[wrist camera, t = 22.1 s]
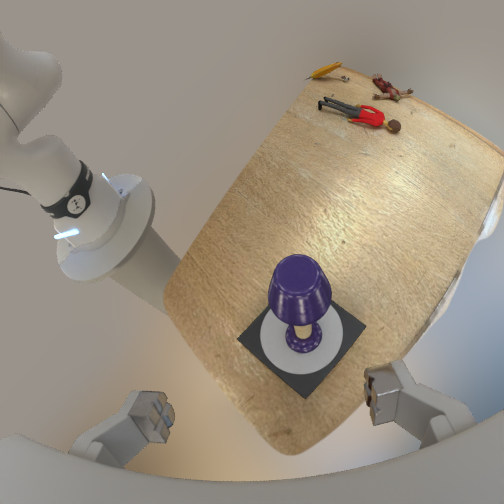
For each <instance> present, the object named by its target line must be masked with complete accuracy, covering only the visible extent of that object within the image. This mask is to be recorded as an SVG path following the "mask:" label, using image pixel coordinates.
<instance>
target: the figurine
mask: <svg viewBox="0 0 504 504" xmlns="http://www.w3.org/2000/svg"><path fill="white" fill-rule="evenodd" d="M377 75H378V79H377V78H376V74H374V75H373V76H372V77H373V82H374V83H375V84H377V85H378V86H380V88H381V89H382V92H385V93H384V94H383V95H382V94H381V95H377V94H374V95H375V96H372V98H373V99H380V98H387V97H388V98H390V99H395V100H398V101H399V100H400V96H401V95H404V94H411V93H413V90H410V89H411V88H410V89H408V91H398V90H396V89H394V88H393V87H392V85H391V83H389V82H386V81H384V80H383V79H382V78H381V74H377Z"/></svg>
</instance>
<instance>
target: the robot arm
mask: <svg viewBox="0 0 504 504" xmlns="http://www.w3.org/2000/svg"><path fill="white" fill-rule="evenodd" d="M61 82H62V70H61V66H60V64H59V63H58V60H57V59H56V58H55V57H54V56H53V55H51V54H50V53H47V52H43V51H33V52H29V51H22V50H19V49H16V48H14V47H13V46H11V45H10V44H9V43H8V42H7V41H6V40H5V39H4V37H3V36H2V34H1V32H0V179H6V180H9V181H12V182H14V183H16V184H18V185H19V186H21V187H22V188H23V189H24V190H26V191H22V190H17V189H10V188H3V187H0V189H4V190H9V191H15V192H20V193H25V194H28V195H31V196H33V197H34V198H35V199H36V200H37V201H38V202H39V203H40V204H41V207H42V208H43V209H44V211H45V212H46V213H47V214H48V215H50V216H51V217H52V218H54V228H55V230H57V232H58V233H59V235H55V236H54V237H55V238H56V239H59V238H62V237H64V238H65V239H66V240H67V244H68V249H69V251H70V252H71V253H72V254H75V253H77V252H79V251H92V250H95V249H98V248H100V247H101V246H103V245H104V244H105V243H107V242H108V241H109V240H110V239H111V238H112V237H113V235H114V234H115V233H116V232H117V230H118V228H119V227H120V225H121V223H122V221H123V218H124V214H125V206H126V203H127V200H128V198H129V196H130V192H129V191H128V190H126V189H124V188H122V187H120V186H118V185H115V184H113V183H111V182H109V181H108V179H107V178H106V177H105V175H104V174H103V173H102V175H103V176H100V175H98V174H93V173H92V172H91V171H90V170H89V168H88V167H87V166H86V165H85V164H84V163H83V162H82V161H80V160H78V159H77V158H76V157H75V155H74V154H73V153H72V152H71V150H70V149H69V148H68V147H67V145H66V144H65V143H64V142H63V140H62V139H61V138H59V137H58V136H55V135H46V136H43V137H40V138H38V139H35V140H33V141H32V142H29V143H27V144H20V143H19V142H18V141H17V137H18V135H19V134H20V132H21V131H22V130H23V129H24V128H25V127H26V126H27V125H28V124H29V123H30V121H31V120H32V119H33V118H34V117H35V116H36V115H37V114H38V113H39V112H40V111H41V110H42V109H43V108H44V107H45V106H46V104H47V103H48V102H49V101H50V99H51V98H52V97H53V95H54V94H55V93H56V91H57V90H58V89H59V88H60V86H61ZM364 377H365V380H366V382H365V384H364V395H365V400H366V404H367V406H368V407H370V416H371V419H372V422H373V425H374V426H376V425H380V424H384V423H388V422H391V421H394V422H395V423H397V424H398V425H400V426H401V427H402V428H404V429H405V430H406V431H408V432H409V433H410V434H412V435H413V436H415V437H416V438H417V439H419V440H420V441H422V443H421V446H420V448H419V450H417V451H414V452H412V453H409V454H406V455H403V456H399V457H396V458H393V459H390V460H386V461H383V462H380V463H376V464H372V465H368V466H364V467H360V468H356V469H351V470H346V471H341V472H336V473H330V474H324V475H318V476H311V477H305V478H295V479H285V480H271V481H247V482H246V481H244V482H232V481H204V480H191V479H181V478H172V477H164V476H158V475H151V474H145V473H140V472H135V471H130V470H126V469H125V468H124V467H123V466H124V465H125V464H126V463H128V462H129V461H130V460H131V459H132V458H133V457H134V456H136V455H137V454H138V453H139V452H140V451H141V450H142V449H143V448H144V447H145V446H147V445H148V444H149V442H154V443H166V442H167V439H168V437H169V434H170V431H169V429H168V428H169V427H171V426H172V425H173V423H174V420H175V413H174V409H173V407H172V405H170V404H169V403H168V402H166V401H167V396H166V395H165V393H164V392H155V391H131V392H130V394H129V395H128V397H127V399H126V401H125V402H124V404H123V406H122V407H121V409H120V411H119V413H118V414H114V415H112V416H111V417H109V418H108V419H106V420H104V421H103V422H101V423H99V424H98V425H96V426H95V427H93V428H91V429H90V430H88V431H87V432H85V433H83V434H81V435H80V436H78V438H77V439H76V441H75V442H74V444H73V446H72V447H71V449H70V450H69V452H68V453H65V452H62V451H59V450H57V449H54V448H52V447H49V446H46V445H44V444H42V443H39V442H37V441H35V440H32V439H30V438H28V437H26V436H24V435H22V434H13V435H10V436H7V437H5V438H3V439H1V440H0V504H504V409H503V410H502V411H500V412H498V413H497V414H495V415H493V416H492V417H490V418H488V419H486V420H484V421H482V422H480V423H479V424H477V422H476V421H475V419H474V417H473V416H472V414H471V412H470V411H469V409H468V408H467V406H466V404H465V403H463V402H460V401H458V400H456V399H454V398H451V397H449V396H447V395H444V394H442V393H440V392H438V391H435V390H433V389H431V388H429V387H427V386H425V385H422V384H416V382H415V381H414V379H413V377H412V376H411V374H410V372H409V370H408V368H407V367H406V365H405V363H404V361H403V360H402V359H399V360H395V361H392V362H389V363H385V364H382V365H378V366H374V367H370V368H366V369H365V371H364Z"/></svg>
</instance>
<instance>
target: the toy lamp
mask: <svg viewBox="0 0 504 504" xmlns="http://www.w3.org/2000/svg"><path fill="white" fill-rule="evenodd" d="M331 298H332V291H331V286H330V284H329V281H328V279H327V278H326V276H325V274H324V272H323V271H322V269H321V267H320V266H319V264H318V263H317V262H316V261H315V260H314V259H312V258H311V257H309V256H306V255H301V254H294V255H291V256H288V257H286V258H284V259H283V260H281V261H280V262H279V263H278V265H277V266H276V268H275V270H274V273H273V276H272V279H271V283H270V286H269V291H268V301H269V305H270V308H271V310H272V312H273V313H274V315H275V316H276V317H277V318H278V319H279V320H281V321H282V322H284V323H286V324H288V325H289V326H288V328H287V330H286V334H285V338H286V342H287V345H288V346H289V348H291V349H292V350H293V351H295V352H298V353H309V352H311V351H313V350H315V349H316V348H317V347H318V346H319V344H320V342H321V340H322V330H321V327H320V326H319V324H318V323H317V321H318V320H320V319H321V318H322V317H323V316H324V315H325V313H326V312H327V311H328V309H329V307H330V304H331Z"/></svg>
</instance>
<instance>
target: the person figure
mask: <svg viewBox="0 0 504 504" xmlns="http://www.w3.org/2000/svg"><path fill="white" fill-rule="evenodd" d="M324 100H325V102H324V101H319V102H318V109H319V110H321V109H322V105H324V106H328V107H331V108H334V109H336V110H339V111H341V112H343V113H345V114H347V115H350V116H352V117H355V118H358V119H352V120H351V119H349V118H348V117H347V120H349V121H352V122H363V123H368V124H371V125H373V126H380V125H383V124H384V125H386V126H387V128H388V129H389V130H391V131H394V132H398V131H400V129H401V124H400V123H399V122H398V121H396V120H394V119H393V120H391V121H389V122H387V121H385V117H384V114H383V112H381V111H379V110H377V109H375V108H373V107H371V106H365V105H359V104H357V105H355V106H358V107H359V108H358V107H354V106H351V105H347V104H345V103H343V102H340V101H337V100H334V99H331V98H328V97H324ZM328 101H329V102H332V103H334V104H332V103H328ZM335 104H337V105H335ZM338 105H339V106H338ZM340 106H342V107H344V108H342V107H340ZM361 108H364V109H370V110H372V111H374V112H375V113H369V112H367V111H365V110H364V109H361Z"/></svg>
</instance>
